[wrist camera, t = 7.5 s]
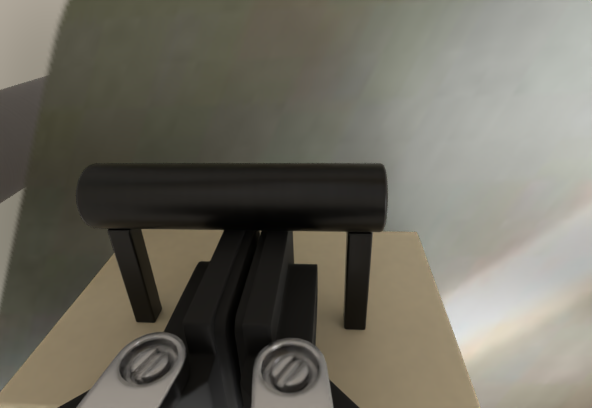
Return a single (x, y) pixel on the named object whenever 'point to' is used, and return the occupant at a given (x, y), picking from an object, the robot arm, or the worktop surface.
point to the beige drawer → (307, 250)
